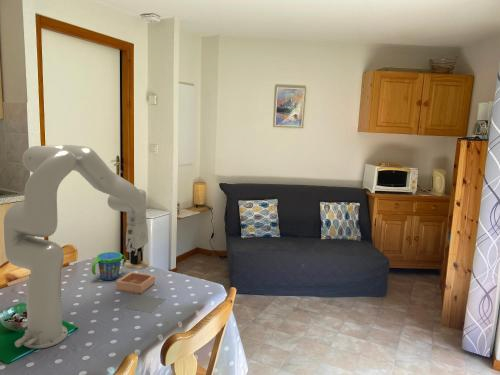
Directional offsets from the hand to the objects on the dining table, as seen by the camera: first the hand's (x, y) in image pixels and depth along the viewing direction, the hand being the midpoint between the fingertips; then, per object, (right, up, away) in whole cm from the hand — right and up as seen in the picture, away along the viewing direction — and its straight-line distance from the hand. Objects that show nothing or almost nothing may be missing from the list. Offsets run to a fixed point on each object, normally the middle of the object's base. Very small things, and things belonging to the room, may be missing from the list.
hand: (136, 261), depth 157 cm
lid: (0, -1, 0) cm, 1 cm away
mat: (+7, -14, -13) cm, 20 cm away
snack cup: (-15, -9, +10) cm, 20 cm away
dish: (-1, -11, +1) cm, 11 cm away
